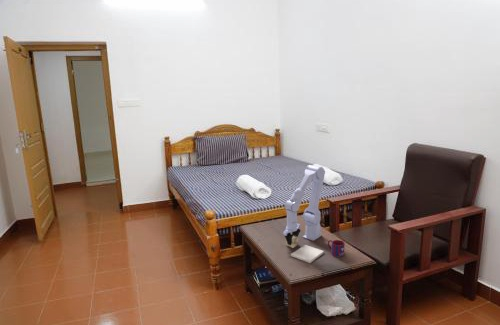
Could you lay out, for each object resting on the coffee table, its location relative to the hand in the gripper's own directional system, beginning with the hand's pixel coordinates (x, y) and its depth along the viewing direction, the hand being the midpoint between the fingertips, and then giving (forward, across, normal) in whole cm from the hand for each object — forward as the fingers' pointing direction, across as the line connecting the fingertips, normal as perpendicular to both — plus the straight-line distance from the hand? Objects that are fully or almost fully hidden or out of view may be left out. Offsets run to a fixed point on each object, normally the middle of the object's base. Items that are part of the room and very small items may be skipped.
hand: (292, 242), depth 195 cm
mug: (+2, -7, +24) cm, 25 cm away
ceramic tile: (+1, +4, +13) cm, 14 cm away
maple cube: (+1, 0, 0) cm, 1 cm away
